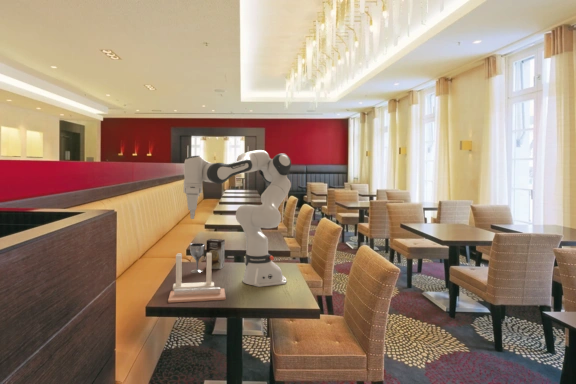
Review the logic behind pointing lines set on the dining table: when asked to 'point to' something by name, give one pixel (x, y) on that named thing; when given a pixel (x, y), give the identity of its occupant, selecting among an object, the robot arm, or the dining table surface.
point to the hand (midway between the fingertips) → (192, 217)
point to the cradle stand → (193, 285)
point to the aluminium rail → (197, 291)
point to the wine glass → (197, 254)
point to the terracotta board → (197, 297)
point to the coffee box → (216, 252)
